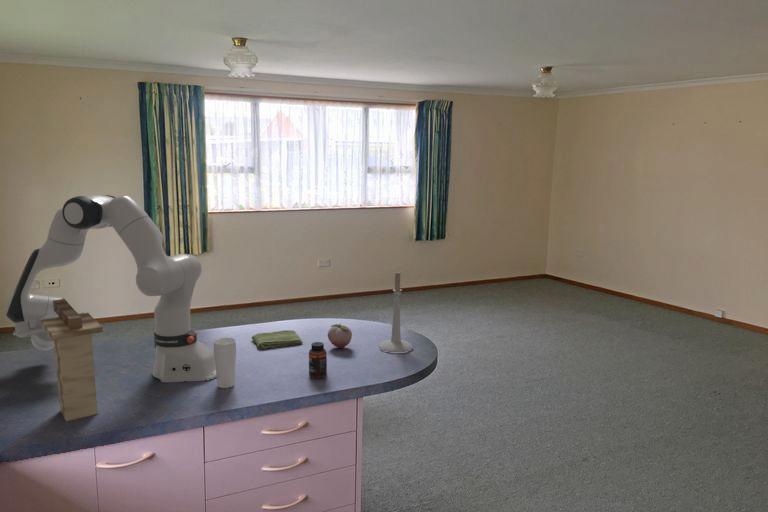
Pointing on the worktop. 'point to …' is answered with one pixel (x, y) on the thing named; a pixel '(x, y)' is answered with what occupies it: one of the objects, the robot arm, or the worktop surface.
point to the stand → (74, 365)
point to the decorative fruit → (339, 335)
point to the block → (67, 314)
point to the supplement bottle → (317, 361)
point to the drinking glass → (225, 361)
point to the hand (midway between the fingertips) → (55, 318)
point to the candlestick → (396, 325)
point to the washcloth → (276, 339)
